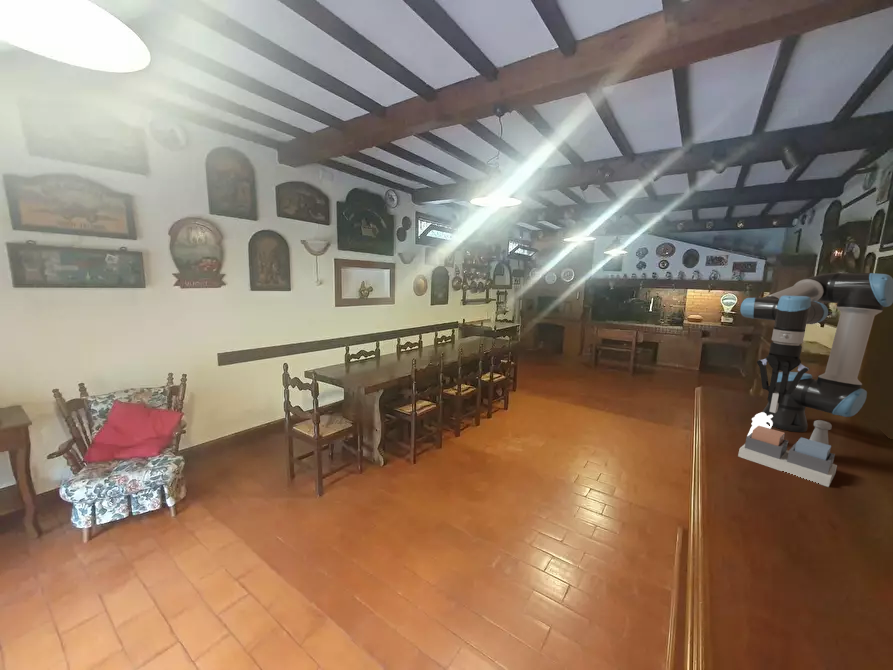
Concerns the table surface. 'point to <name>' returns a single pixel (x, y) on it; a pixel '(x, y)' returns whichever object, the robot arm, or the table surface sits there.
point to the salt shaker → (821, 431)
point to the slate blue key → (813, 448)
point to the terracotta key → (768, 435)
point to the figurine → (761, 421)
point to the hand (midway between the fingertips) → (773, 411)
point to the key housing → (789, 460)
